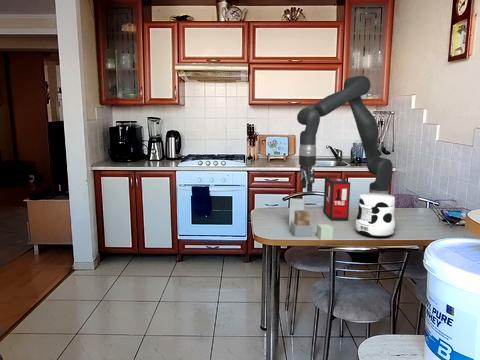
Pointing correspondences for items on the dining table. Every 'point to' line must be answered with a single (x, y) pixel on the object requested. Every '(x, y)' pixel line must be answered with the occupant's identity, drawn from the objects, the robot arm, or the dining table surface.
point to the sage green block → (324, 232)
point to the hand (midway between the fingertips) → (306, 189)
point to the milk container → (376, 214)
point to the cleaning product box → (336, 199)
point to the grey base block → (301, 230)
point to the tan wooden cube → (302, 217)
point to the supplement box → (295, 208)
